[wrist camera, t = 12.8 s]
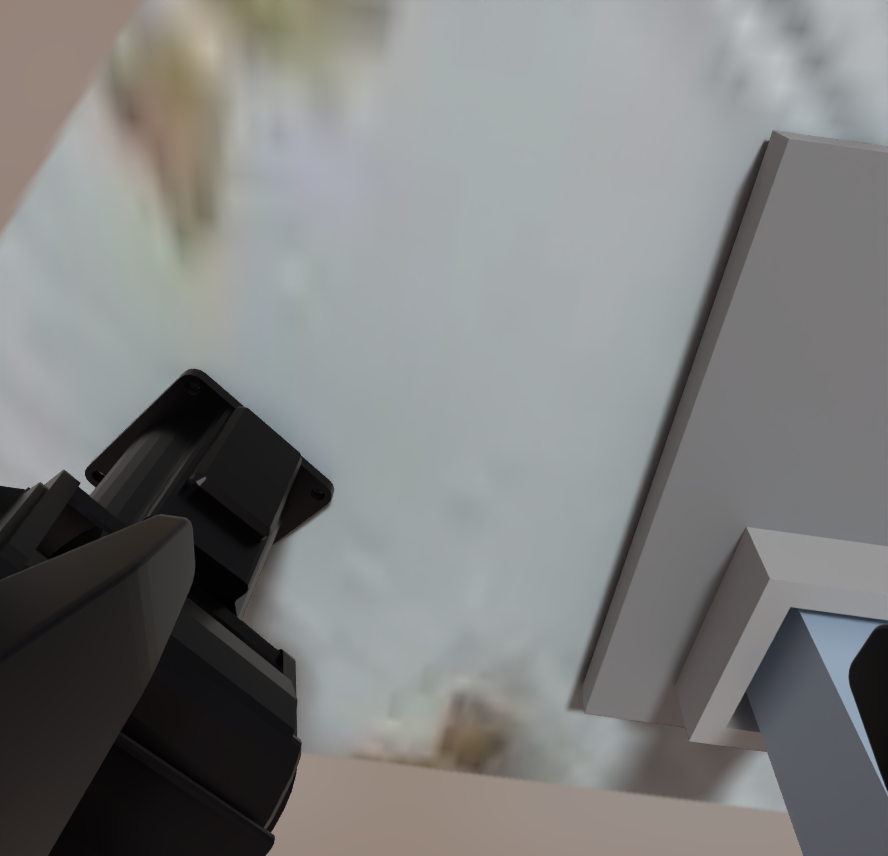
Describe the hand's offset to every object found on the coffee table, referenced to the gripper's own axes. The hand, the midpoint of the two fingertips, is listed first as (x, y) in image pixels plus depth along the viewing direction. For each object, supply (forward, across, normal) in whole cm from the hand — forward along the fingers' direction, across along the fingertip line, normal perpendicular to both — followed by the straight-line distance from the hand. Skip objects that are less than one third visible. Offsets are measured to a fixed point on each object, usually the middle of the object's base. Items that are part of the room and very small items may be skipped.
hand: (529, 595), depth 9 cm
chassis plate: (+13, +13, -6) cm, 19 cm away
